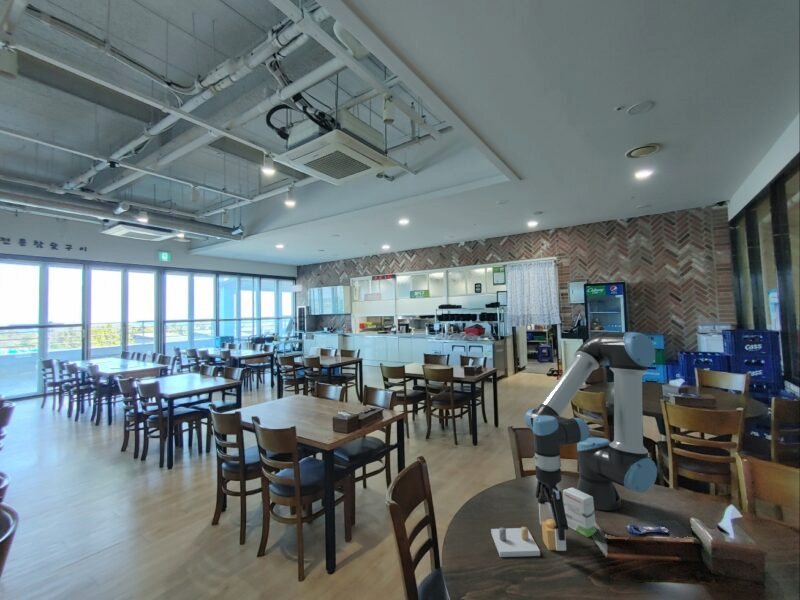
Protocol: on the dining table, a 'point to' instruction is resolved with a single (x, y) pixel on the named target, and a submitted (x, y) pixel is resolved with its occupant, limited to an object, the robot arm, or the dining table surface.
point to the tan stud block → (549, 534)
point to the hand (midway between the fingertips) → (552, 536)
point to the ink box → (579, 511)
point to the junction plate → (514, 542)
